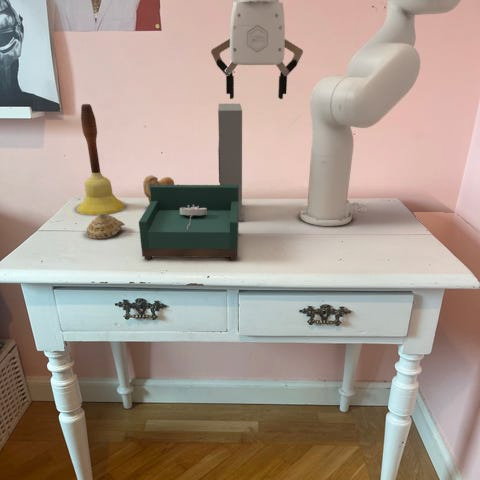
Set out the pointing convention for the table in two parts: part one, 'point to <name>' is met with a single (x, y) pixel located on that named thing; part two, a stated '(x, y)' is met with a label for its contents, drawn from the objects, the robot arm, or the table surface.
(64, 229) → the table surface
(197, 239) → the sofa
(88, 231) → the seashell
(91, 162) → the handbell
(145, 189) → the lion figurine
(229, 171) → the tall grey pillar
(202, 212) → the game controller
